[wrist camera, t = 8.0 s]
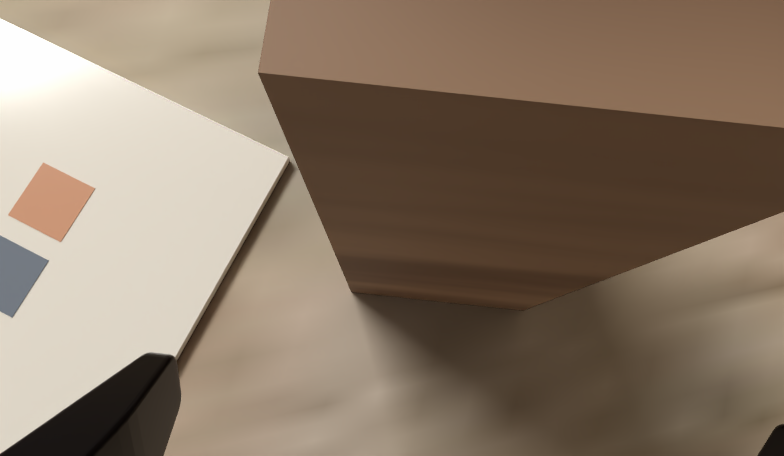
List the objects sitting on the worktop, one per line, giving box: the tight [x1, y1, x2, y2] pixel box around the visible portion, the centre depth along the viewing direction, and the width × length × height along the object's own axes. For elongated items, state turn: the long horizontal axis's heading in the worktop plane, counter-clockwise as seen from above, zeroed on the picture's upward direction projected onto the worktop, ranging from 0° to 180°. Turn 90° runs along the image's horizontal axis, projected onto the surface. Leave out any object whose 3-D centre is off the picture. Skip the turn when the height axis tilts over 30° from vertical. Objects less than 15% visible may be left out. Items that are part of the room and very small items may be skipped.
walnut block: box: [258, 0, 784, 311], centre depth 11 cm, size 5×5×13 cm
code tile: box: [0, 19, 290, 453], centre depth 17 cm, size 11×11×1 cm
